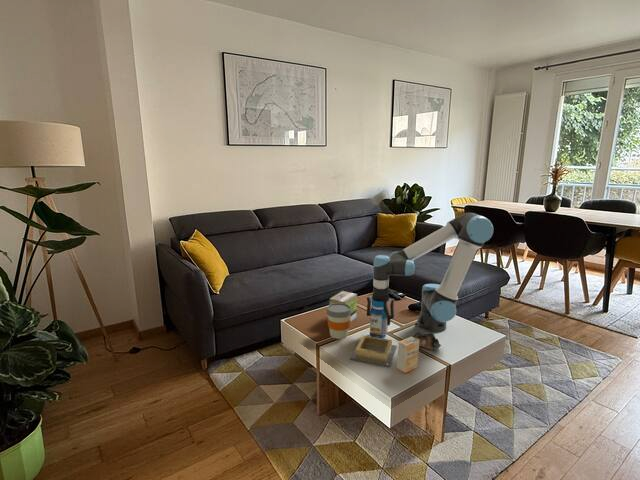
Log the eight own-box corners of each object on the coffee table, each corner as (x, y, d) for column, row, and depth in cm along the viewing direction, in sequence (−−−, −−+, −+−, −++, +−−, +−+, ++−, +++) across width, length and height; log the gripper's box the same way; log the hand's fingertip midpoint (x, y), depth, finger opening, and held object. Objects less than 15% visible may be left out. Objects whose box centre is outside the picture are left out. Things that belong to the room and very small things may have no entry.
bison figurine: (410, 342, 176) (415, 352, 166) (411, 329, 175) (415, 338, 165) (435, 343, 176) (441, 353, 166) (436, 329, 174) (442, 338, 164)
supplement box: (405, 374, 149) (406, 345, 147) (396, 369, 153) (397, 341, 150) (418, 367, 154) (419, 339, 151) (409, 362, 158) (410, 335, 155)
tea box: (344, 327, 192) (344, 302, 189) (328, 323, 197) (328, 298, 194) (357, 317, 204) (357, 293, 201) (341, 313, 209) (341, 290, 206)
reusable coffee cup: (325, 339, 179) (325, 312, 176) (328, 328, 191) (328, 302, 188) (350, 341, 177) (350, 313, 174) (351, 329, 189) (352, 303, 186)
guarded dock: (396, 347, 171) (396, 338, 170) (390, 367, 154) (390, 357, 153) (360, 341, 177) (360, 332, 176) (349, 359, 161) (350, 350, 160)
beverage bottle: (389, 338, 179) (390, 301, 175) (373, 341, 177) (374, 303, 173) (381, 331, 187) (382, 295, 183) (366, 333, 185) (367, 297, 180)
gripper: (401, 286, 176) (400, 329, 181) (363, 282, 183) (363, 324, 187) (399, 291, 169) (397, 336, 174) (360, 286, 176) (359, 330, 181)
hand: (379, 329), depth 181 cm, fingers closed on beverage bottle, 6 cm apart
